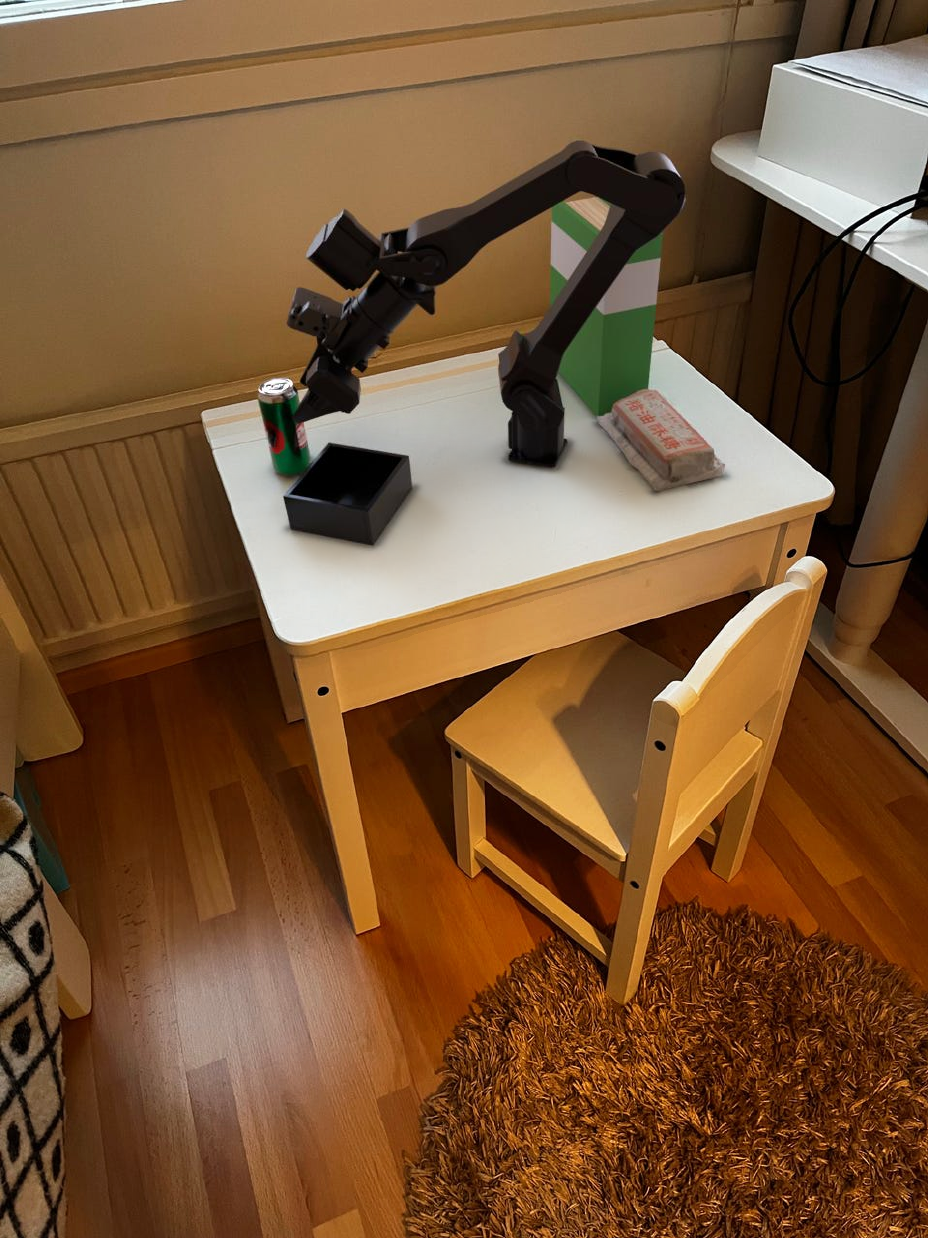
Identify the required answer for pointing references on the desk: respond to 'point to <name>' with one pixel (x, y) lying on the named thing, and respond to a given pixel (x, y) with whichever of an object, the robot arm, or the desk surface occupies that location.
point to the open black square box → (349, 493)
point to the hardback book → (606, 310)
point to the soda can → (283, 426)
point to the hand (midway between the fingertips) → (298, 401)
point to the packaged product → (660, 441)
